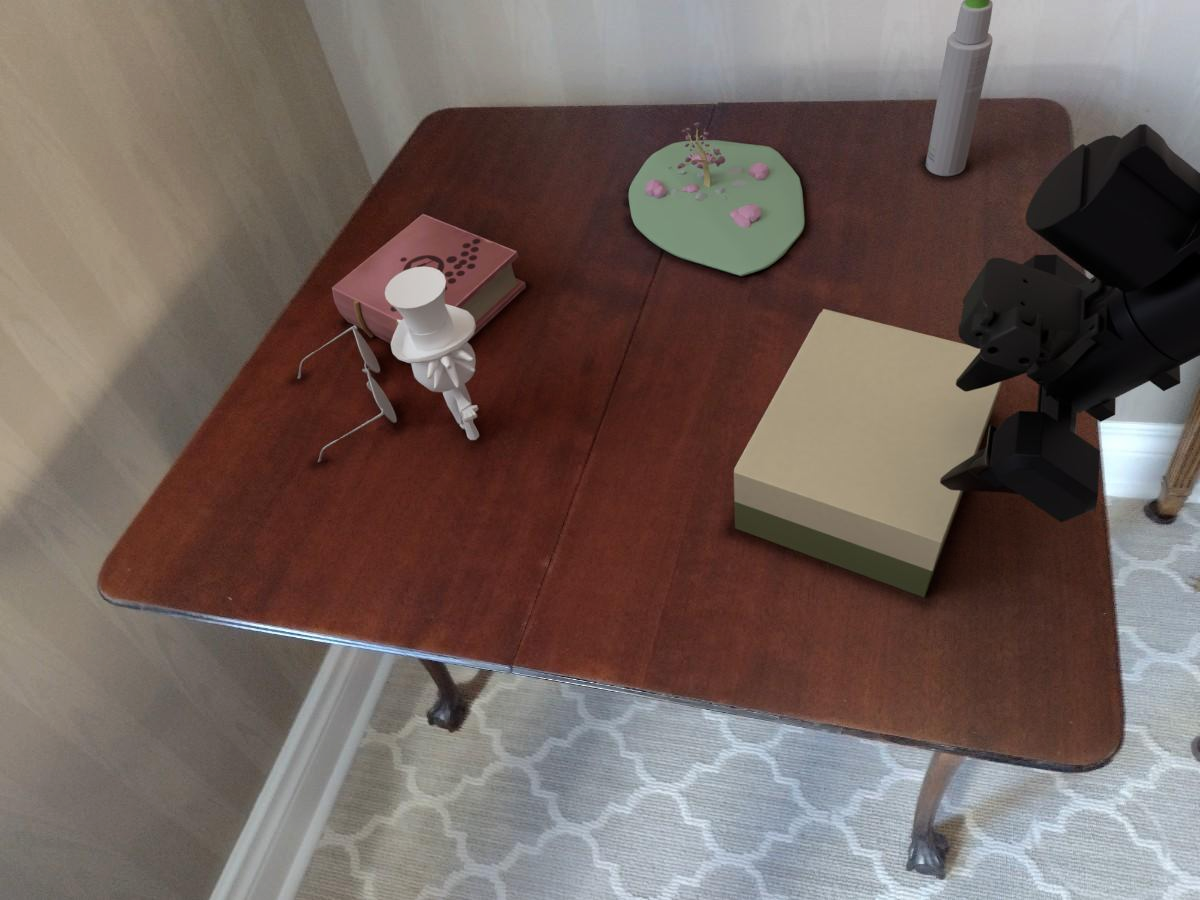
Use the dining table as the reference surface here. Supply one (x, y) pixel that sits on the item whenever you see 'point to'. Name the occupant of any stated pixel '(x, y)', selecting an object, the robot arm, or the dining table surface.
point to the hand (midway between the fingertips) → (952, 433)
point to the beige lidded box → (864, 450)
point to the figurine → (435, 339)
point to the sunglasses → (371, 384)
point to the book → (463, 258)
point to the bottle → (960, 89)
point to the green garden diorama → (719, 203)
